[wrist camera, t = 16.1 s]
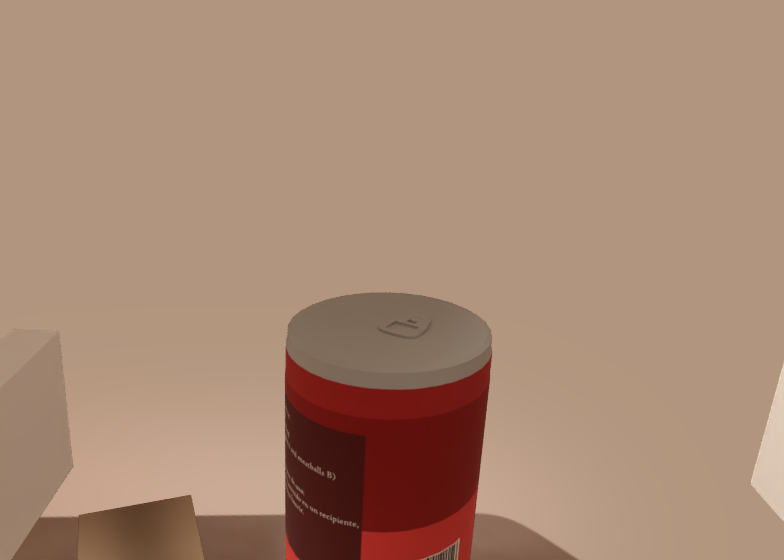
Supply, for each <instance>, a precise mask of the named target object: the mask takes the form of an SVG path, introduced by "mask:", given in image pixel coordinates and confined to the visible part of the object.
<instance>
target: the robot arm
mask: <svg viewBox="0 0 784 560" xmlns="http://www.w3.org/2000/svg"><path fill="white" fill-rule="evenodd" d="M72 468H73V461H72V451H71V441H70V431H69V423H68V412H67V403H66V393H65V383H64V375H63V365H62V355H61V345H60V336H59V331H46V330H19V329H14V330H12V331H11V332H10V333H9V334H7V335H6V336H5V337H4V338H3V339H1V340H0V560H11V559H12V558H13V556H14V555H15V553H16V552H17V550H18V549H19V547H20V546H21V544H22V543H23V541H24V540H25V538H26V537H27V535H28V534H29V532H30V531H31V529H32V528H33V526H34V525H35V523H36V522H37V520H38V519H39V517H40V516H41V514H42V513H43V511H44V510H45V508H46V507H47V505H48V504H49V502H50V501H51V499H52V498H53V496H54V495H55V493H56V492H57V490H58V489H59V487H60V486H61V484H62V483H63V481H64V480H65V478H66V477H67V475H68V474H69V472H70V470H71V469H72ZM750 484H751V485H752V486H753V487H754V489H755V490H756V491H757V492H758V493H759V494H760V495H761V497H762V498H763V499H764V500H765V501H766V502H767V503H768V504H769V506H770V507H771V508H772V509H773V510H774V511H775V512H776V513H777V514H778V516H779V517H780V518H781V519H782V520H783V521H784V364H783V367H782V371H781V375H780V378H779V382H778V385H777V389H776V393H775V396H774V400H773V404H772V407H771V411H770V415H769V418H768V422H767V426H766V429H765V433H764V436H763V440H762V444H761V447H760V451H759V454H758V458H757V462H756V465H755V469H754V472H753V476H752V480H751V483H750Z"/></svg>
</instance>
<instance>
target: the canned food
mask: <svg viewBox="0 0 784 560" xmlns="http://www.w3.org/2000/svg"><path fill="white" fill-rule="evenodd" d="M491 341H492V335H491V330H490V328H489V327H488V325H487V323H486V322H485V321H484V320H482V319H481V318H480V317H479V316H478V315H476V314H474V313H473V312H471V311H469V310H467V309H465V308H462V307H460V306H457V305H455V304H453V303H450V302H447V301H443V300H440V299H435V298H431V297H426V296H421V295H412V294H404V293H364V294H363V293H362V294H353V295H346V296H340V297H336V298H332V299H328V300H324V301H322V302H319V303H316V304H313V305H311V306H309V307H307V308H305V309H303V310H301V311H300V312H299V313H298V314H296V315H295V316H294V317H293V318H292V320H291V321H290V323H289V324H288V335H287V339H286V370H285V469H286V470H285V477H286V478H285V488H286V489H285V495H286V496H285V500H286V501H285V505H286V507H285V508H286V560H470V555H471V546H472V537H473V528H474V519H475V509H476V500H477V491H478V481H479V473H480V464H481V455H482V446H483V437H484V428H485V419H486V410H487V400H488V391H489V383H490V368H491V358H492V347H491Z"/></svg>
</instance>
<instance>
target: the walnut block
mask: <svg viewBox="0 0 784 560" xmlns="http://www.w3.org/2000/svg"><path fill="white" fill-rule="evenodd" d="M77 560H204V556H203V551H202V546H201V541H200V537H199V532H198V527H197V522H196V517H195V513H194V508H193V503H192V498H191V495H187V496H182V497H177V498H171V499H165V500H160V501H154V502H149V503H144V504H138V505H132V506H127V507H122V508H116V509H110V510H105V511H100V512H94V513H88V514H83V515H79V529H78V556H77Z"/></svg>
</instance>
